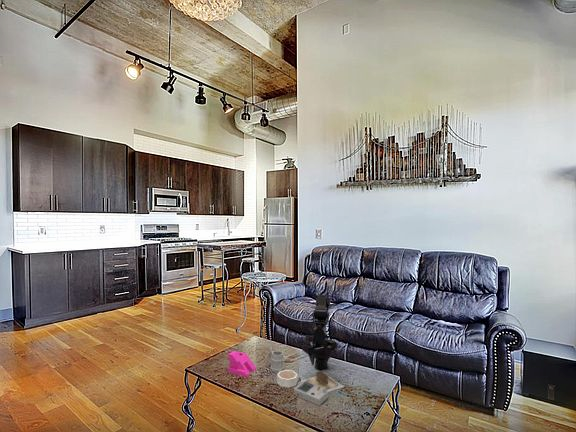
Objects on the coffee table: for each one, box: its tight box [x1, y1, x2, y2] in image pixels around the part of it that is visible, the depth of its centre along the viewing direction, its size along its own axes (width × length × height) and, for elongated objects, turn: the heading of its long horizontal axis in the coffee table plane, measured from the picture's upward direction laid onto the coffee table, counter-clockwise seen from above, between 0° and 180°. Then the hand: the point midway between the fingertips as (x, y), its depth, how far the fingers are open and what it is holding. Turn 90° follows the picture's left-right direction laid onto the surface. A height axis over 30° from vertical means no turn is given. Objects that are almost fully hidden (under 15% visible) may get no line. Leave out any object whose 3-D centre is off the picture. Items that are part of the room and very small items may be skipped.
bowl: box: [276, 369, 299, 388], centre depth 169 cm, size 10×10×4 cm
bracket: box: [227, 350, 257, 378], centre depth 182 cm, size 12×10×10 cm
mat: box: [300, 374, 345, 393], centre depth 168 cm, size 16×16×1 cm
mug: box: [266, 345, 285, 374], centre depth 184 cm, size 8×12×12 cm, turn 47°
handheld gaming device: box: [293, 381, 329, 407], centre depth 156 cm, size 9×15×4 cm, turn 51°
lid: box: [306, 370, 339, 390], centre depth 168 cm, size 12×12×5 cm
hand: (319, 362), depth 168 cm, fingers open, 9 cm apart
